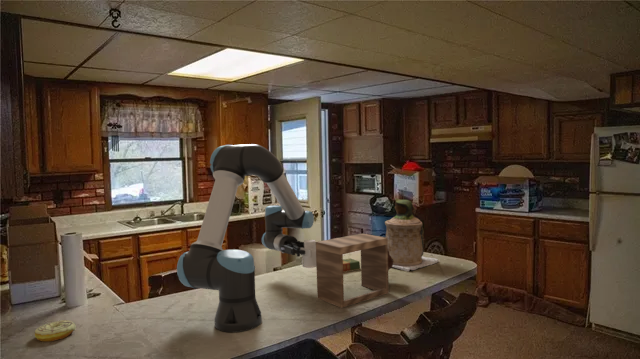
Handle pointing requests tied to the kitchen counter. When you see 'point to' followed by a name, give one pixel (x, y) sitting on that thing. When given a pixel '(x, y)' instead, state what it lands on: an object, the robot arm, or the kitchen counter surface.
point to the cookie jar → (406, 238)
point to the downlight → (311, 261)
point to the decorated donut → (54, 330)
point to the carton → (350, 265)
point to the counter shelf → (332, 267)
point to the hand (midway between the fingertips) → (319, 252)
